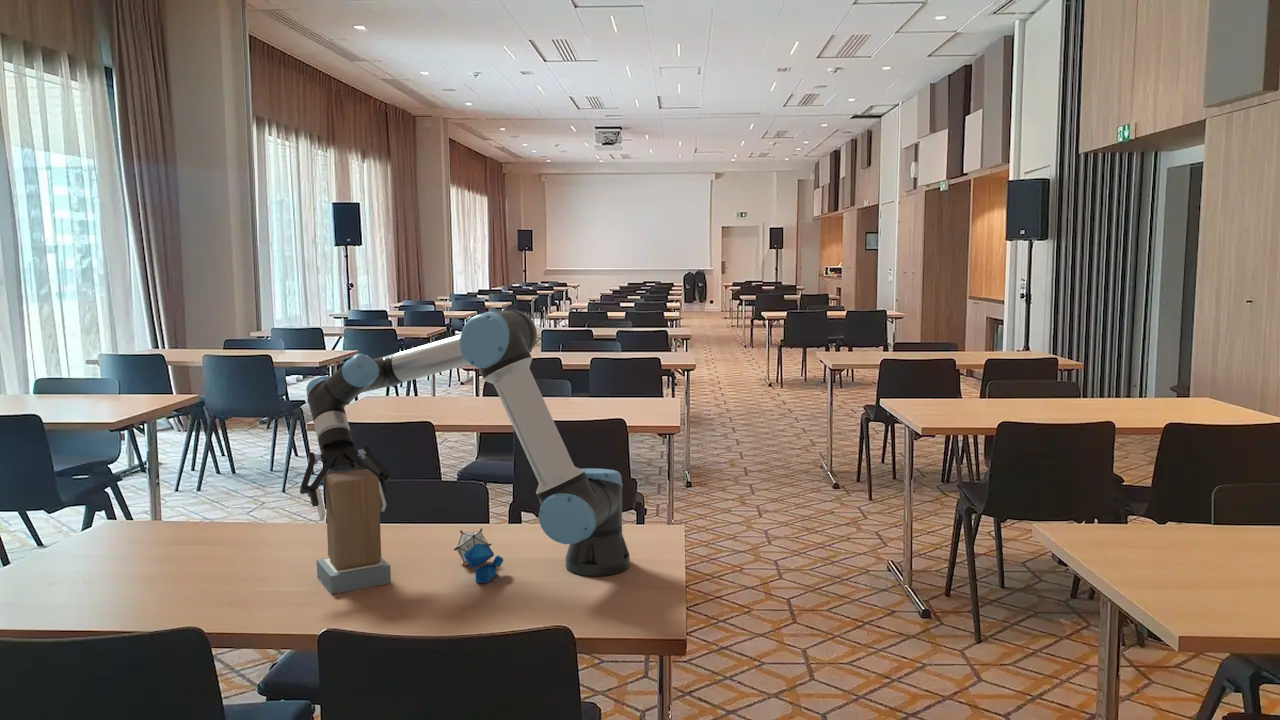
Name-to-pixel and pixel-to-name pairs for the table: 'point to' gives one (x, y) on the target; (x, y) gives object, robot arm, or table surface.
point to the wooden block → (353, 518)
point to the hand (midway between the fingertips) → (353, 512)
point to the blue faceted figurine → (480, 556)
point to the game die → (469, 542)
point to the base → (352, 575)
